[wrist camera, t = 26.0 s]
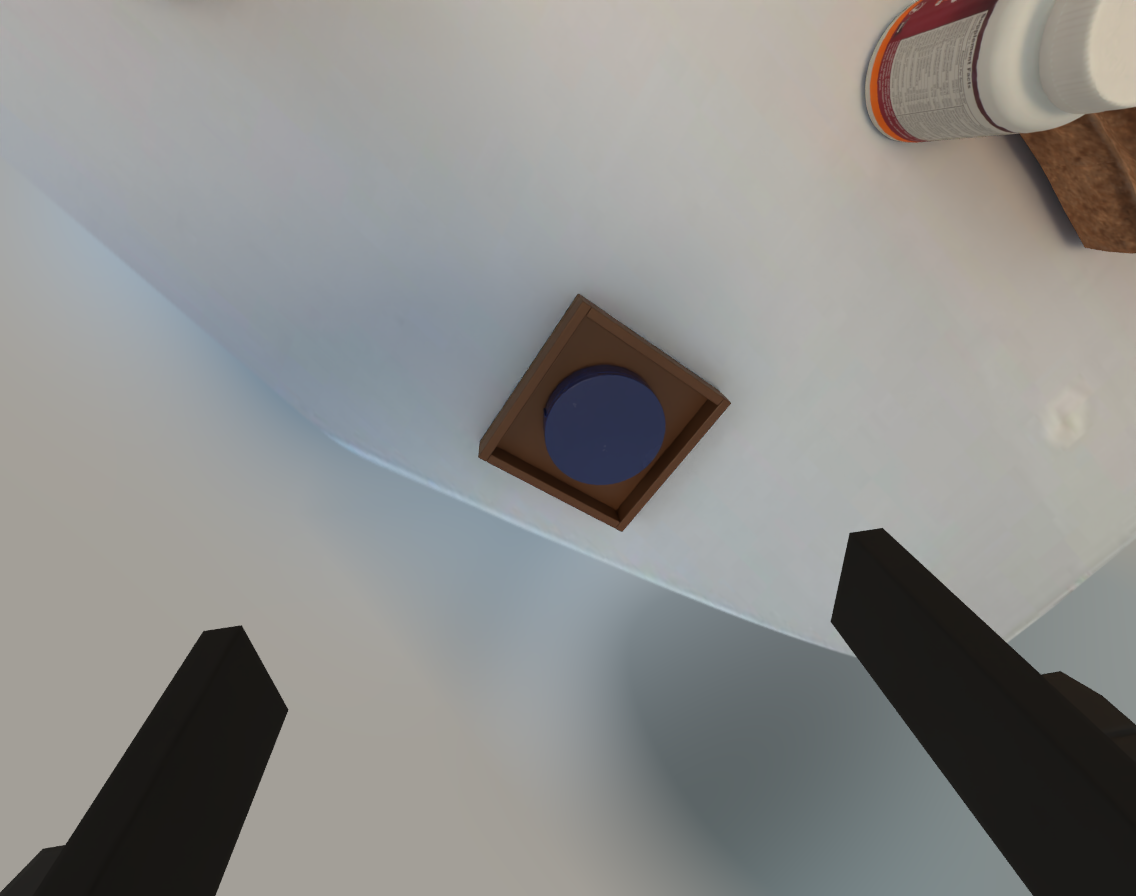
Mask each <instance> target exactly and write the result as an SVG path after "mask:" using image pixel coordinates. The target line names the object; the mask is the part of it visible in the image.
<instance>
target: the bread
mask: <svg viewBox="0 0 1136 896" xmlns="http://www.w3.org/2000/svg"><path fill="white" fill-rule="evenodd" d="M1020 135H1021V136H1022V138H1023V139H1024V141H1025V142H1026V144H1027V145H1028V147H1029V148H1030V150H1031V151H1032V153H1033V155H1034V156H1035V158H1036V159H1037V161H1038V162H1039V164H1040V165H1041V167H1042V169H1043V170H1044V172H1045V174H1046V176H1047V178H1048V180H1049V181H1050V183H1051V185H1052V187H1053V189H1054V191H1055V193H1056V195H1057V197H1058V199H1059V201H1060V203H1061V205H1062V207H1063V209H1064V211H1065V213H1066V214H1067V216H1068V218H1069V220H1070V222H1071V223H1072V225H1073V227H1074V229H1075V230H1076V232H1077V234H1078V236H1079V238H1080V239H1081V241H1082V243H1083V245H1084V247H1085V248H1091V249H1096V250H1102V251H1108V252H1121V253H1136V107H1132V108H1126V109H1118V110H1109V111H1104V112H1099V113H1090V114H1085V115H1083V116H1081V117H1080V118H1078V119H1076V120H1074V121H1072V122H1070V123H1067V124H1065V125H1063V126H1060V127H1057V128H1053V129H1050V130H1045V131H1038V132H1032V133H1020Z"/></svg>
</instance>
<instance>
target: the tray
mask: <svg viewBox="0 0 1136 896" xmlns="http://www.w3.org/2000/svg"><path fill="white" fill-rule="evenodd" d="M594 365H614V366H620V367H623V368H626V369H628V370H630V371H633V372H634V373H636V374H637V375H639V376H640V377H641V378H642V379H643V380H644V381H645V382H646V383H647V384H648V385H649V387H650V388H651V389H652V391H653V392H654V394H655V395H656V397H657V398H658V400H659V402H660V404H661V406H662V408H663V411H664V415H665V423H666V426H665V435H664V439H663V443H662V445H661V447H660V450H659V452H658V453H657V455H656V456H655V458H654V459H653V460H652V462H651V463H650V464H649V465H648V466H647V467H646V468H645V469H643V470H642V471H641V472H640V473H638V474H636V475H635V476H633V477H631V478H629V479H627V480H625V481H622V482H619V483H614V484H609V485H592V484H586V483H582V482H579V481H577V480H574V479H572V478H570V477H569V476H567V475H566V474H564V473H563V472H562V471H561V470H560V469H559V468H558V467H557V466H556V465H555V464H554V462H553V461H552V459H551V458H550V456H549V453H548V451H547V448H546V444H545V438H544V431H543V414H544V412H543V408H545V406H546V403H547V401H548V399H549V397H550V395H551V393H552V392H553V390H554V389H555V388H556V387H557V386H558V384H559V383H560V382H562V381H563V380H564V379H565V378H566V377H568V376H569V375H571V374H572V373H574V372H576V371H578V370H580V369H583V368H586V367H590V366H594ZM730 404H731V402H730V401H729V400H728V399H727V398H726V397H725V396H724V395H723V394H722V393H721V392H720V391H719V390H717V389H716V388H715V387H713V386H712V385H710V384H709V383H707V382H706V381H704V380H703V379H701V378H700V377H699V376H697V375H696V374H694V373H693V372H691V371H690V370H688V369H687V368H686V367H684V366H683V365H681V364H680V363H678V362H677V361H675V360H674V359H673V358H671V357H670V356H668V355H667V354H665V353H664V352H662V351H661V350H660V349H658V348H657V347H655V346H654V345H652V344H651V343H649V342H648V341H647V340H645V339H644V338H642V337H641V336H639V335H638V334H636V333H635V332H634V331H632V330H631V329H629V328H628V327H626V326H625V325H623V324H622V323H621V322H619V321H618V320H616V319H615V318H613V317H612V316H610V315H609V314H608V313H606V312H605V311H603V310H602V309H600V308H599V307H597V306H596V305H595V304H593V303H592V302H590V301H589V300H587V299H586V298H584V297H583V296H581V295H580V294H578V295H577V296H576V298H575V299H574V301H573V302H572V304H571V305H570V307H569V308H568V310H567V311H566V313H565V314H564V316H563V317H562V319H561V320H560V322H559V323H558V325H557V326H556V328H555V329H554V331H553V332H552V334H551V335H550V337H549V338H548V340H547V341H546V343H545V344H544V346H543V347H542V349H541V350H540V352H539V353H538V355H537V356H536V358H535V359H534V361H533V362H532V364H531V366H530V367H529V369H528V370H527V372H526V373H525V375H524V376H523V378H522V379H521V381H520V382H519V384H518V385H517V387H516V388H515V390H514V391H513V393H512V394H511V396H510V397H509V399H508V400H507V402H506V403H505V405H504V406H503V408H502V409H501V411H500V412H499V414H498V415H497V417H496V418H495V420H494V421H493V423H492V424H491V426H490V427H489V429H488V430H487V432H486V433H485V435H484V436H483V438H482V439H481V441H480V445H479V455H478V457H479V458H480V459H482V460H484V461H487V462H488V463H490V464H492V465H494V466H496V467H498V468H500V469H502V470H504V471H506V472H507V473H509V474H511V475H513V476H515V477H517V478H519V479H521V480H523V481H525V482H527V483H529V484H531V485H533V486H534V487H536V488H538V489H540V490H542V491H544V492H546V493H548V494H550V495H552V496H554V497H556V498H558V499H560V500H561V501H563V502H565V503H567V504H569V505H571V506H573V507H575V508H577V509H579V510H581V511H583V512H585V513H587V514H588V515H590V516H592V517H594V518H596V519H598V520H600V521H602V522H604V523H606V524H608V525H610V526H612V527H614V528H616V529H617V530H619V531H621V532H622V531H623V530H624V529H625V528H626V527H627V526H628V524H629V523H630V522H631V521H632V520H633V518H634V517H635V516H636V515H637V514H638V513H639V511H640V510H641V509H642V508H643V507H644V505H645V504H646V503H647V502H648V501H649V500H650V498H651V497H652V496H653V495H654V494H655V492H656V491H657V490H658V489H659V488H660V487H661V485H662V484H663V483H664V482H665V481H666V479H667V478H668V477H669V476H670V475H671V474H672V472H673V471H674V470H675V469H676V468H677V466H678V465H679V464H680V463H681V462H682V461H683V459H684V458H685V457H686V456H687V455H688V454H689V452H690V451H691V450H692V449H693V448H694V446H695V445H696V444H697V443H698V442H699V441H700V439H701V438H702V437H703V436H704V435H705V433H706V432H707V431H708V430H709V429H710V428H711V426H712V425H713V424H714V423H715V422H716V420H717V419H718V418H719V417H720V416H721V415H722V413H723V412H724V411H725V410H726V409H727V407H728V406H729V405H730Z"/></svg>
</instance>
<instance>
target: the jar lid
mask: <svg viewBox="0 0 1136 896" xmlns="http://www.w3.org/2000/svg"><path fill="white" fill-rule="evenodd" d="M543 412H544V414H543V431H544V438H545V444H546V448H547V451H548V453H549V456H550V458H551V459H552V461H553V462H554V464H555V465H556V466H557V467H558V468H559V469H560V470H561V471H562V472H563V473H564V474H566V475H567V476H569V477H570V478H572V479H574V480H577V481H579V482H582V483H586V484H592V485H609V484H614V483H619V482H622V481H625V480H627V479H629V478H631V477H633V476H635V475H636V474H638V473H640V472H641V471H642V470H643V469H645V468H646V467H647V466H648V465H649V464H650V463H651V462H652V460H653V459H654V458H655V456H656V455H657V453H658V452H659V450H660V447H661V445H662V443H663V439H664V435H665V426H666V423H665V415H664V411H663V408H662V406H661V404H660V402H659V400H658V398H657V397H656V395H655V394H654V392H653V391H652V389H651V388H650V387H649V385H648V384H647V383H646V382H645V381H644V380H643V379H642V378H641V377H640V376H639V375H637V374H636V373H634V372H633V371H630V370H628V369H626V368H623V367H620V366H614V365H594V366H590V367H586V368H583V369H580V370H578V371H576V372H574V373H572V374H571V375H569V376H568V377H566V378H565V379H564V380H563V381H562V382H560V383H559V384H558V386H557V387H556V388H555V389H554V390H553V392H552V393H551V395H550V397H549V399H548V401H547V403H546V406H545V408H543Z"/></svg>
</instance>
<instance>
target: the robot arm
mask: <svg viewBox="0 0 1136 896" xmlns="http://www.w3.org/2000/svg"><path fill="white" fill-rule="evenodd" d="M831 623H832V624H833V625H834V627H835V628H836V630H837V631H838V632H839V634H840V635H841V636H842V638H843V639H844V640H845V642H846V643H847V644H848V646H849V647H850V648H851V650H852V651H853V653H854V654H855V655H856V657H857V658H858V659H859V660H860V662H861V663H862V665H863V666H864V667H865V669H866V670H867V671H868V673H869V674H870V676H871V677H872V678H873V679H874V681H875V682H876V683H877V685H878V686H879V688H880V689H881V690H882V692H883V693H884V695H885V696H886V697H887V699H888V700H889V701H890V703H891V704H892V705H893V707H894V708H895V709H896V711H897V712H898V713H899V715H900V716H901V717H902V719H903V720H904V721H905V723H906V724H907V726H908V727H909V728H910V730H911V731H912V732H913V734H914V735H915V736H916V738H917V739H918V740H919V742H920V743H921V745H922V746H923V747H924V749H925V750H926V751H927V753H928V754H929V755H930V757H931V758H932V759H933V761H934V762H935V764H936V765H937V766H938V768H939V769H940V770H941V772H942V773H943V774H944V776H945V777H946V778H947V780H948V781H949V782H950V784H951V785H952V786H953V788H954V789H955V791H956V792H957V793H958V795H959V796H960V797H961V799H962V800H963V801H964V803H965V804H966V805H967V807H968V808H969V810H970V811H971V812H972V813H973V815H974V816H975V818H976V819H977V820H978V822H979V823H980V824H981V826H982V827H983V828H984V830H985V831H986V833H987V834H988V835H989V837H990V838H991V839H992V841H993V842H994V843H995V845H996V846H997V847H998V849H999V850H1000V851H1001V853H1002V854H1003V856H1004V857H1005V858H1006V860H1007V861H1008V862H1009V864H1010V865H1011V866H1012V867H1013V869H1014V870H1015V872H1016V873H1017V875H1018V876H1019V877H1020V879H1021V880H1022V881H1023V883H1024V884H1025V885H1026V887H1027V888H1028V889H1029V891H1030V892H1031V893H1032V895H1033V896H1136V725H1135V724H1134V723H1133V722H1132V721H1131V720H1130V719H1128V718H1127V717H1126V716H1125V715H1124V714H1123V713H1121V712H1120V711H1119V710H1118V709H1117V708H1116V707H1115V706H1113V705H1112V704H1111V703H1110V702H1109V701H1108V700H1106V699H1105V698H1104V697H1103V696H1102V695H1100V694H1098V693H1096V692H1095V691H1093V690H1092V689H1090V688H1088V687H1086V686H1085V685H1083V684H1081V683H1080V682H1078V681H1076V680H1074V679H1073V678H1071V677H1069V676H1068V675H1066V674H1064V673H1062V672H1061V671H1059V672H1053V673H1047V674H1042V675H1041V674H1039V672H1038V671H1036V670H1035V669H1034V668H1033V667H1032V666H1031V665H1030V664H1029V663H1028V662H1027V661H1026V660H1025V659H1023V658H1022V657H1021V656H1020V655H1019V654H1018V653H1017V652H1016V651H1015V650H1014V649H1013V648H1012V647H1011V646H1009V645H1008V644H1007V643H1006V642H1005V641H1004V640H1003V639H1002V638H1001V637H1000V636H999V635H998V634H996V633H995V632H994V631H993V630H992V629H991V628H990V627H989V626H988V625H987V624H986V623H985V622H984V621H982V620H981V619H980V618H979V617H978V616H977V615H976V614H975V613H974V612H973V611H972V610H971V609H969V608H968V607H967V606H966V605H965V604H964V603H963V602H962V601H961V600H960V599H959V598H958V597H957V596H955V595H954V594H953V593H952V592H951V591H950V590H949V589H948V588H947V587H946V586H945V585H944V584H942V583H941V582H940V581H939V580H938V579H937V578H936V577H935V576H934V575H933V574H932V573H931V572H930V571H928V570H927V569H926V568H925V567H924V566H923V565H922V564H921V563H920V562H919V561H918V560H917V559H915V558H914V557H913V556H912V555H911V554H910V553H909V552H908V551H907V550H906V549H905V548H904V547H903V546H901V545H900V544H899V543H898V542H897V541H896V540H895V539H894V538H893V537H892V536H891V535H890V534H888V533H887V532H886V531H885V530H884V529H883V528H880V529H873V530H866V531H860V532H853V533H850V534H849V539H848V543H847V548H846V553H845V557H844V562H843V567H842V571H841V576H840V581H839V585H838V590H837V595H836V599H835V604H834V609H833V614H832V618H831ZM287 712H288V708H287V707H286V705H285V703H284V701H283V699H282V698H281V696H280V694H279V692H278V690H277V688H276V687H275V685H274V683H273V681H272V679H271V678H270V676H269V674H268V672H267V670H266V669H265V667H264V665H263V663H262V661H261V660H260V658H259V656H258V654H257V652H256V651H255V649H254V647H253V645H252V643H251V641H250V640H249V638H248V636H247V634H246V632H245V631H244V629H243V627H242V626H235V627H228V628H221V629H215V630H208V631H203V633H202V634H201V636H200V637H199V639H198V640H197V642H196V643H195V645H194V647H193V648H192V650H191V651H190V653H189V654H188V656H187V657H186V659H185V661H184V662H183V664H182V665H181V667H180V668H179V670H178V671H177V673H176V674H175V676H174V678H173V679H172V681H171V682H170V684H169V685H168V687H167V688H166V690H165V691H164V693H163V695H162V696H161V698H160V699H159V701H158V702H157V704H156V705H155V707H154V709H153V710H152V712H151V713H150V715H149V716H148V718H147V719H146V721H145V722H144V724H143V726H142V727H141V729H140V730H139V732H138V733H137V735H136V737H135V738H134V739H133V741H132V743H131V744H130V746H129V747H128V749H127V750H126V752H125V754H124V755H123V757H122V758H121V760H120V761H119V763H118V764H117V766H116V767H115V769H114V771H113V772H112V774H111V775H110V777H109V778H108V780H107V781H106V783H105V784H104V786H103V788H102V789H101V791H100V792H99V794H98V795H97V797H96V798H95V800H94V801H93V803H92V805H91V806H90V808H89V809H88V811H87V812H86V814H85V815H84V817H83V819H82V820H81V822H80V823H79V825H78V826H77V828H76V830H75V831H74V833H73V834H72V836H71V837H70V839H69V840H68V842H67V843H66V845H63V846H57V847H51V848H45V849H42V851H40V852H39V853H38V854H37V855H36V856H35V857H34V859H32V861H31V862H30V863H29V864H28V865H27V866H26V867H25V868H24V869H23V870H22V871H21V872H20V873H19V874H18V875H17V876H16V877H15V878H14V879H13V880H12V881H11V882H10V883H9V884H8V885H7V886H6V887H5V888H4V889H3V890H2V891H1V892H0V896H215V895H216V892H217V890H218V888H219V885H220V882H221V880H222V877H223V875H224V872H225V869H226V867H227V865H228V862H229V860H230V857H231V854H232V852H233V849H234V847H235V844H236V842H237V839H238V837H239V834H240V831H241V829H242V826H243V824H244V821H245V819H246V816H247V814H248V811H249V809H250V806H251V803H252V801H253V798H254V796H255V793H256V791H257V788H258V786H259V783H260V781H261V778H262V776H263V773H264V770H265V768H266V765H267V763H268V760H269V758H270V755H271V753H272V750H273V748H274V745H275V742H276V739H277V737H278V735H279V732H280V730H281V727H282V724H283V722H284V720H285V717H286V714H287Z"/></svg>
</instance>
